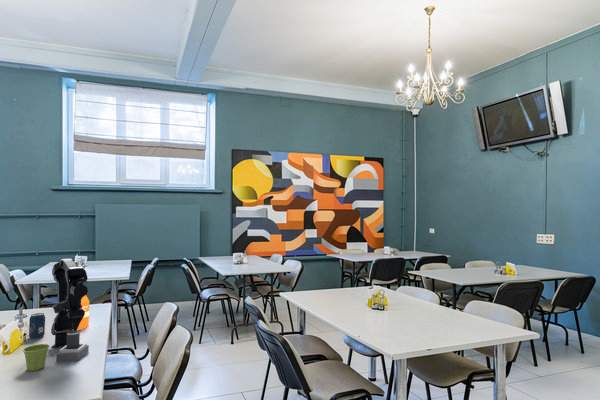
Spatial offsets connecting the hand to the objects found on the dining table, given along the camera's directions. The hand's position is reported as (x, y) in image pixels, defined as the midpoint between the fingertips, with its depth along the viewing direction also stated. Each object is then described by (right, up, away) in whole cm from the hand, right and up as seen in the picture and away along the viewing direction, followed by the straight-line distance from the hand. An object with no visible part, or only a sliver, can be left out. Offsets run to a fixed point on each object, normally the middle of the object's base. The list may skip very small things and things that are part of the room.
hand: (73, 328), depth 178 cm
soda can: (-35, -14, +27) cm, 46 cm away
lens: (0, -9, 0) cm, 9 cm away
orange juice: (-24, -15, +45) cm, 53 cm away
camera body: (0, -13, -1) cm, 13 cm away
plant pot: (-8, -13, -14) cm, 20 cm away
